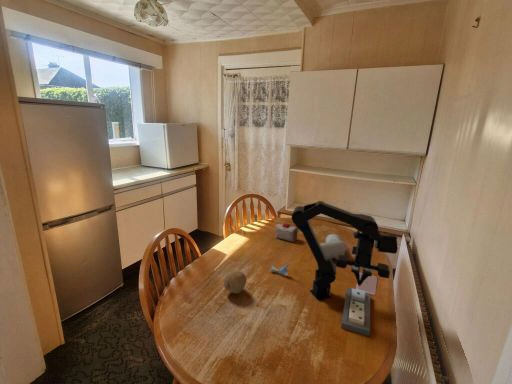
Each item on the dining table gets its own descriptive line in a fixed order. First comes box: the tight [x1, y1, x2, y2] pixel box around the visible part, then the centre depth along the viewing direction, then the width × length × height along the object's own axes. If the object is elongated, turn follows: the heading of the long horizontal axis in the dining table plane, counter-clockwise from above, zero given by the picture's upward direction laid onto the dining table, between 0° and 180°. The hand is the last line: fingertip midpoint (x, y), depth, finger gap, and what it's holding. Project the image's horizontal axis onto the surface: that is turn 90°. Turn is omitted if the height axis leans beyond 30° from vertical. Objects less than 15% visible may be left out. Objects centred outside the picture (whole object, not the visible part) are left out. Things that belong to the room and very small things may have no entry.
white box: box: [274, 222, 299, 243], centre depth 157 cm, size 14×8×10 cm, turn 59°
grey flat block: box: [340, 287, 371, 337], centre depth 97 cm, size 22×9×2 cm, turn 157°
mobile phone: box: [355, 272, 378, 295], centre depth 115 cm, size 8×1×15 cm
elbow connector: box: [319, 233, 347, 260], centre depth 138 cm, size 18×11×20 cm
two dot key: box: [347, 307, 365, 326], centre depth 91 cm, size 5×5×2 cm
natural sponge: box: [223, 269, 247, 295], centre depth 105 cm, size 9×9×10 cm
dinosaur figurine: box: [269, 259, 293, 277], centre depth 118 cm, size 2×13×8 cm
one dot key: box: [350, 288, 365, 303], centre depth 102 cm, size 5×5×2 cm
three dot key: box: [349, 300, 364, 312], centre depth 97 cm, size 5×5×2 cm
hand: (359, 285), depth 101 cm, fingers closed
